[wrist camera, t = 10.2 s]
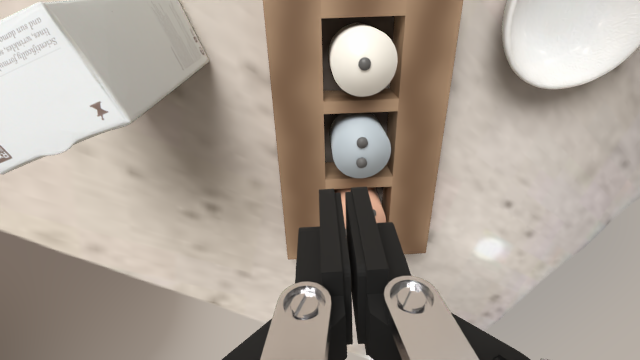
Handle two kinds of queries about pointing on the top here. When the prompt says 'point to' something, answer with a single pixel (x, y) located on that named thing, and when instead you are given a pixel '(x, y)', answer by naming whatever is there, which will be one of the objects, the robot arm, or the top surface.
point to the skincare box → (87, 70)
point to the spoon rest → (568, 39)
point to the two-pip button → (359, 144)
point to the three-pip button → (374, 201)
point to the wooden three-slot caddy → (362, 108)
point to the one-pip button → (362, 59)
